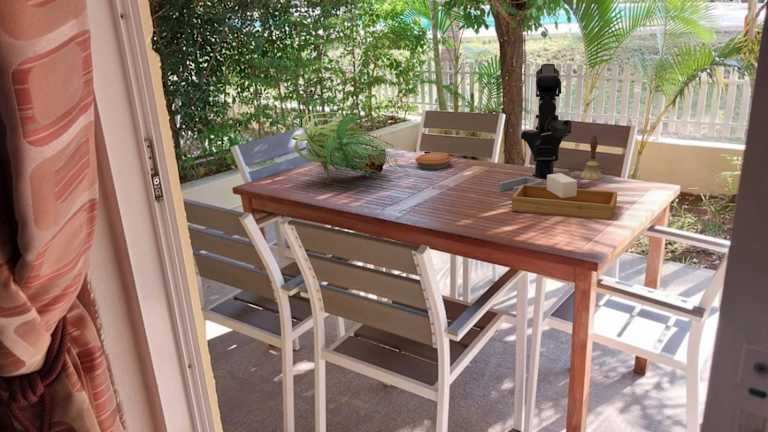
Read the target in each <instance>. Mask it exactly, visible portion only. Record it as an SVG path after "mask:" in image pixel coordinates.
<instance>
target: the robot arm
mask: <svg viewBox="0 0 768 432" xmlns="http://www.w3.org/2000/svg"><path fill="white" fill-rule="evenodd" d="M561 94H562V80H561V78H560V70H558V68H556V64H555V63H542V64H540V68H539V69H538V70H537V71H536V72H535V98H538V105H537V107H538V109H537V110H538V113H537V114H535V119H537V121H538V122H537V126H535V128H534V129H526V130H523V131H522V132H521V134H520V139H521V140H523V141H524V142H526V144H527V146H528V148H529V151H530V152H531V154H532V155H533V162H535V166H534V168H535V173H533V174H532V176H534V177H537V178H541V179H547V175H550V174H554V168H555V167H554V165H555V163H554V162H557V161H559V153H560V152H559V151H560V150H559V149H560V146H561V144H562V142H563V140H564V139H565V138H566V137H568V136H569V134H571V133H572V121H571V120H570V119H567V120H564V121H563V120H562V121H561V120H560V119H559V115H558V114H556V113H557V98H558V97H560V95H561ZM556 97H557V98H556Z"/></svg>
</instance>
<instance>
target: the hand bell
mask: <svg viewBox="0 0 768 432" xmlns="http://www.w3.org/2000/svg"><path fill="white" fill-rule="evenodd" d="M598 143H599V142H598V137H597V135H595V134H593V135H592V137H591V139H590V143H589V148H590V160H589V161H587V162H586V163H585V167H584V170H583V172H582V173H581V174H580V175H579V178H581V179H583V180H588V181H597V180H602V179H603V178H604V175H603V174H602V173H601V171H600V163H599V162H598V161H596V151H597V149H598Z"/></svg>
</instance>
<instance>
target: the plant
mask: <svg viewBox="0 0 768 432" xmlns="http://www.w3.org/2000/svg"><path fill="white" fill-rule="evenodd" d="M352 110H353V109H351V110H350V109H349V111H352ZM345 112H347V111H344V113H345ZM339 113H340V114H339ZM341 113H342V111H340V112H339V111H337V112H336V111H335V112H334V111H333V112H332V111H330V112H329V111H323V112H321V111H320V112H313V113H309V114H307V115H305V116H304V117H303V119H302V122H301V123H302V124H301V125H302V126H301V127H302V129H303V132H304V134H300V133H299V134H294V135H292V137H291V140H292V141H295V144H294V147H295V148H294V149H295V151H296V153H297V154H298V155H299V156H300V157H301V158H302V159H303V160H305V161H306V162H307V163H309V165H310V166H313V163H316V164H315V166H319V167H322V168H323V169H320V171H321V172H319V173H317V175H323V174H326V175H324V177H325V178H328V179H327V181H326V183H328V182H329V181H331V180H332V174H333V173H341V174H343V172H344V174H345V176H344V177H345V178H347V176H348V175H350V174H351V173H352V176H353V175H355V174H356V173H357V174H358V177H360V176H361V175H360V174H362V175H366V177H368V178H370V176H369V175H370V174H371V176H373V177H374V178H375V179H377V180H378V181H379V180H380V181H379V182H384V180H385V181H386V182H388V180H387V179H386V178H388V179H390V177H389V176H387V174H386V173H382V171H383V170H384V166H385V167H386V168H392V169H393V170H398V168H399V169H401V170H403V171H406V172H408V170H407V169H405V168H403V167H401V166H402V165H403V160H401V159H400V158H401V157H403V155H404V153H405V152H400V153H398V152H396V155H399V156H398V158H396V156H392V155H393V151H390V150H388V149H389V148H390V147H393V148H394V145H393V144H394V142H391V140H390V141H389V142H388V139H386V138H385V137H382V138H381V134H379V136H378V134H376V135H375V136H374V135H371V132H368V130H367V126H365V125H363V123H362V122H360V121H361V120H362V118H361V117H359V116H357V115H355V114H353V115H349V116H348V115H347V116H345V117H343V118H342V114H341ZM323 114H338V115H337V116H336V117H335V118H327V117H317V118H313V119H311V120H310V121H309V123H308V126H307V125H306V120H307V118H309V117H310V116H314V115H316V116H317V115H323ZM322 120H323V121H324V120H328V121H329V120H330V121H331V120H332V121H336V122H335V123H334V122H333V123H327V124H323V125H318V126H313V123H315V122H316V121H322ZM359 120H360V121H359ZM339 121H340V122H339ZM355 124H357V125H358V126H360V128H359V127H355V126H354V125H355ZM306 126H307V127H306ZM361 127H362V128H361ZM372 134H375V133H374V132H372ZM299 141H301V142H305V141H306V143H305V144H306V146H305V147H306V148H305V151H306V153H307V155H308V156H309V157H307V156H305V155H304V153H302V152H301V150H300V149H299V146H298V145H299ZM384 143H385V144H386V145H385V144H384ZM388 145H389V146H388ZM396 147H399V145H398V144H397V145H396ZM388 152H389V153H388ZM390 152H391V153H390ZM400 154H401V155H400ZM387 157H388V158H387ZM392 159H393V160H392ZM412 160H415V158H414V157H413V158H409V159H407V160H405V163H406V162H409V161H410V163H412V162H413V161H412ZM298 162H300V163H301V162H302V161H299V160H298ZM401 162H402V163H401ZM390 163H391V164H392V165H391V164H390ZM398 163H400V165H399V164H398ZM318 164H319V165H318ZM406 166H409V163H408V164H406ZM397 167H398V168H397ZM331 168H333V169H334V171H332V169H331ZM359 173H360V174H359ZM312 175H313V176H314V175H316V173H314V174H311V176H312ZM303 176H306V174H305V175H303ZM333 180H334V178H333ZM334 184H335V183H333V185H332V187H334Z"/></svg>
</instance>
